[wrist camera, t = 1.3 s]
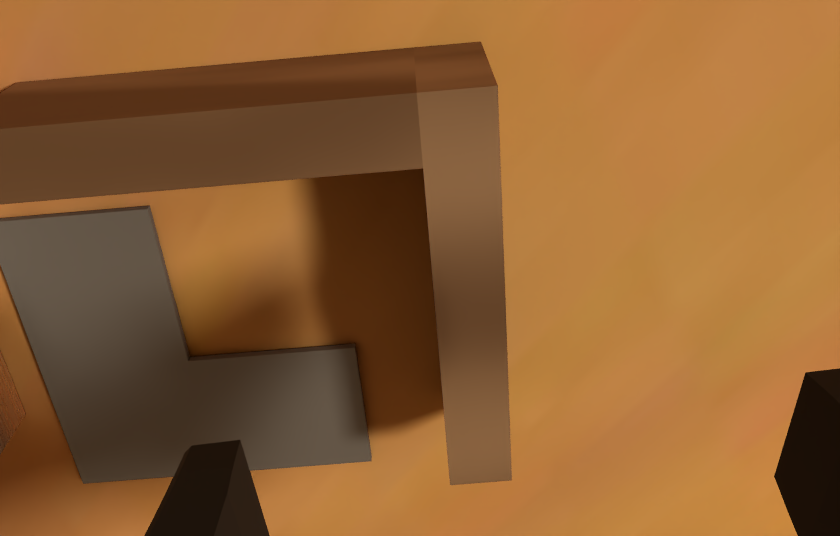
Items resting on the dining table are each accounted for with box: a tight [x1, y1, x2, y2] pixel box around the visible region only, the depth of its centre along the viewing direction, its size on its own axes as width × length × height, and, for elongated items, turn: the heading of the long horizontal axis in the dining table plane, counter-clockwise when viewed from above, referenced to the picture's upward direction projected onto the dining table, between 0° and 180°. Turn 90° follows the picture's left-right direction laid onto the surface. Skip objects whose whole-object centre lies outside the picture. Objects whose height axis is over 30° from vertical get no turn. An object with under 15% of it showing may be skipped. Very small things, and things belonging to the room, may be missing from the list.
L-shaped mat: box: [0, 206, 372, 484], centre depth 22 cm, size 8×8×1 cm
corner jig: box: [0, 42, 512, 485], centre depth 19 cm, size 10×10×4 cm
